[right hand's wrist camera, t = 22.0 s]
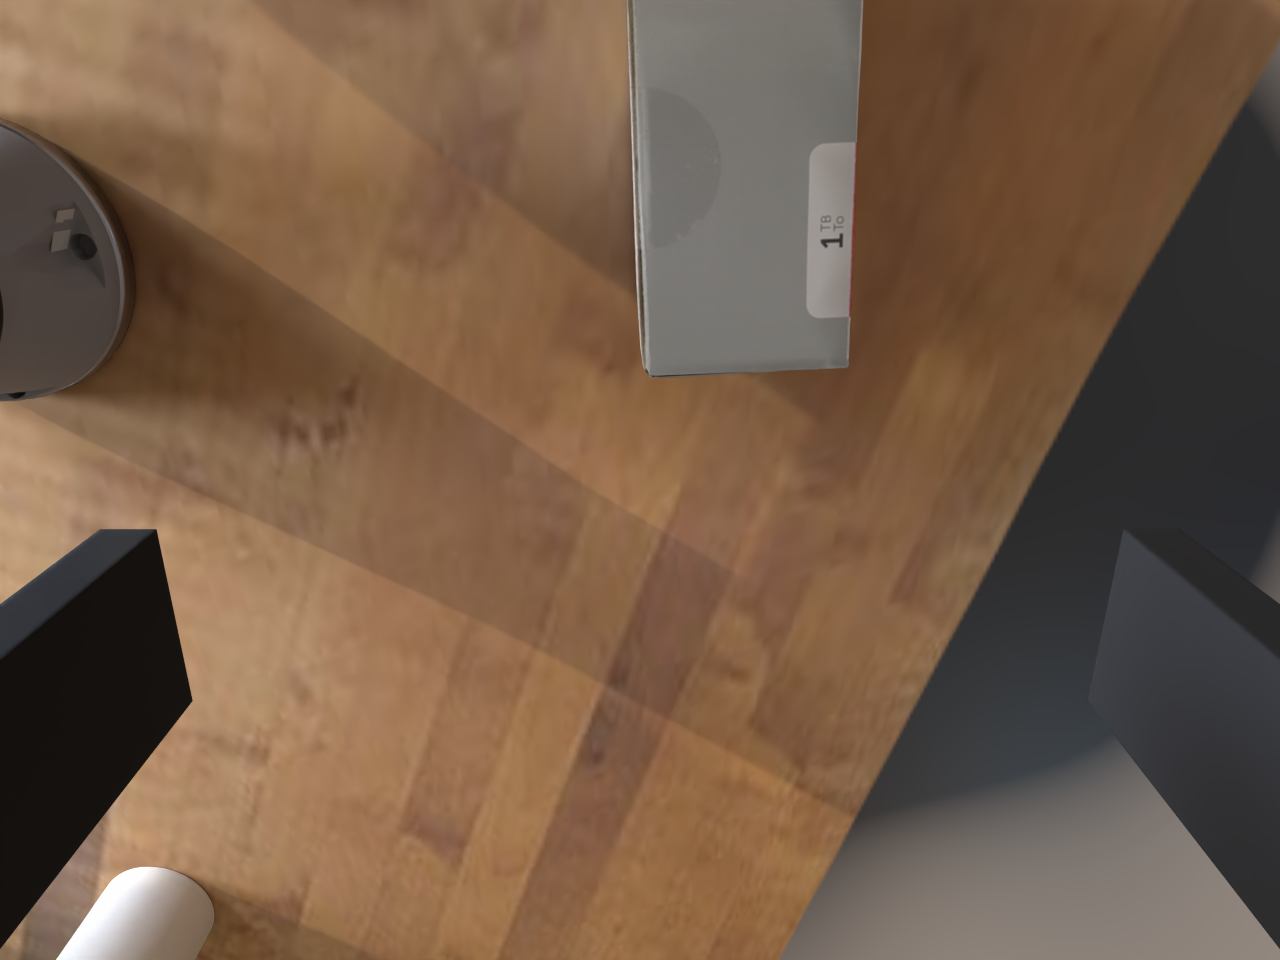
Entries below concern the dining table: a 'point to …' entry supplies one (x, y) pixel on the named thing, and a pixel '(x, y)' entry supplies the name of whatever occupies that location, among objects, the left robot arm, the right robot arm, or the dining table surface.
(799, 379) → the dining table surface
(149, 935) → the can
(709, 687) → the dining table surface
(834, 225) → the hard drive box
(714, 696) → the dining table surface
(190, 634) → the dining table surface
